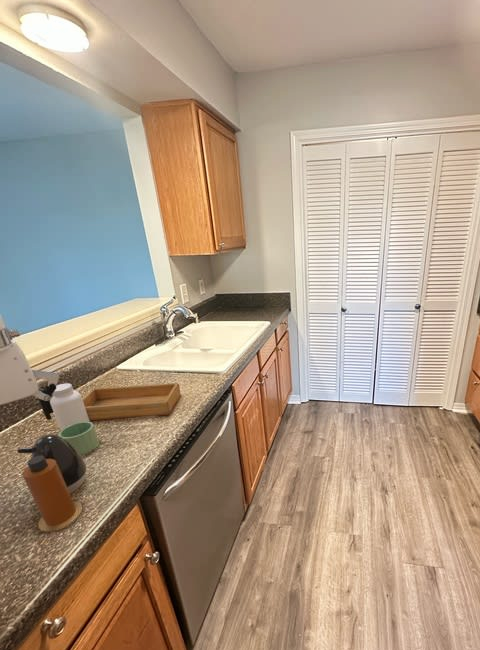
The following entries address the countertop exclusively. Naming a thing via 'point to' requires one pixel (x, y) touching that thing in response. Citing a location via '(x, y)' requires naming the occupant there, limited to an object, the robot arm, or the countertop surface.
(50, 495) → the bottle
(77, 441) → the cup
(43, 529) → the coaster
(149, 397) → the tray
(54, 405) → the pill bottle
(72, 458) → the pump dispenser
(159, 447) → the countertop surface
